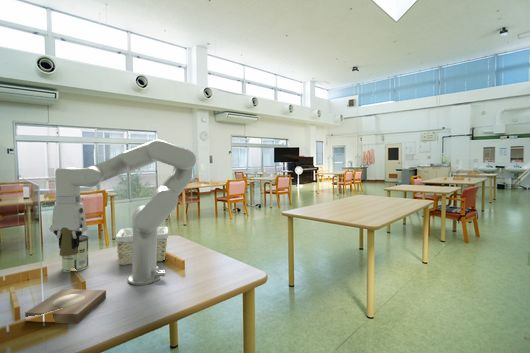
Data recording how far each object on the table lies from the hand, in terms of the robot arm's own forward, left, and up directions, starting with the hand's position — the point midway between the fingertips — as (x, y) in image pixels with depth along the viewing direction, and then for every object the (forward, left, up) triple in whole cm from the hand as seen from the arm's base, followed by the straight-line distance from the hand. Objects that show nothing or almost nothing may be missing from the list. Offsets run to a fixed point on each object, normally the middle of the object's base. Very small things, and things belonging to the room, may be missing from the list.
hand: (69, 247), depth 107 cm
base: (-9, +13, -17) cm, 23 cm away
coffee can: (+12, -22, -17) cm, 31 cm away
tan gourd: (0, 0, -2) cm, 2 cm away
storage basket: (-13, -36, -17) cm, 42 cm away
